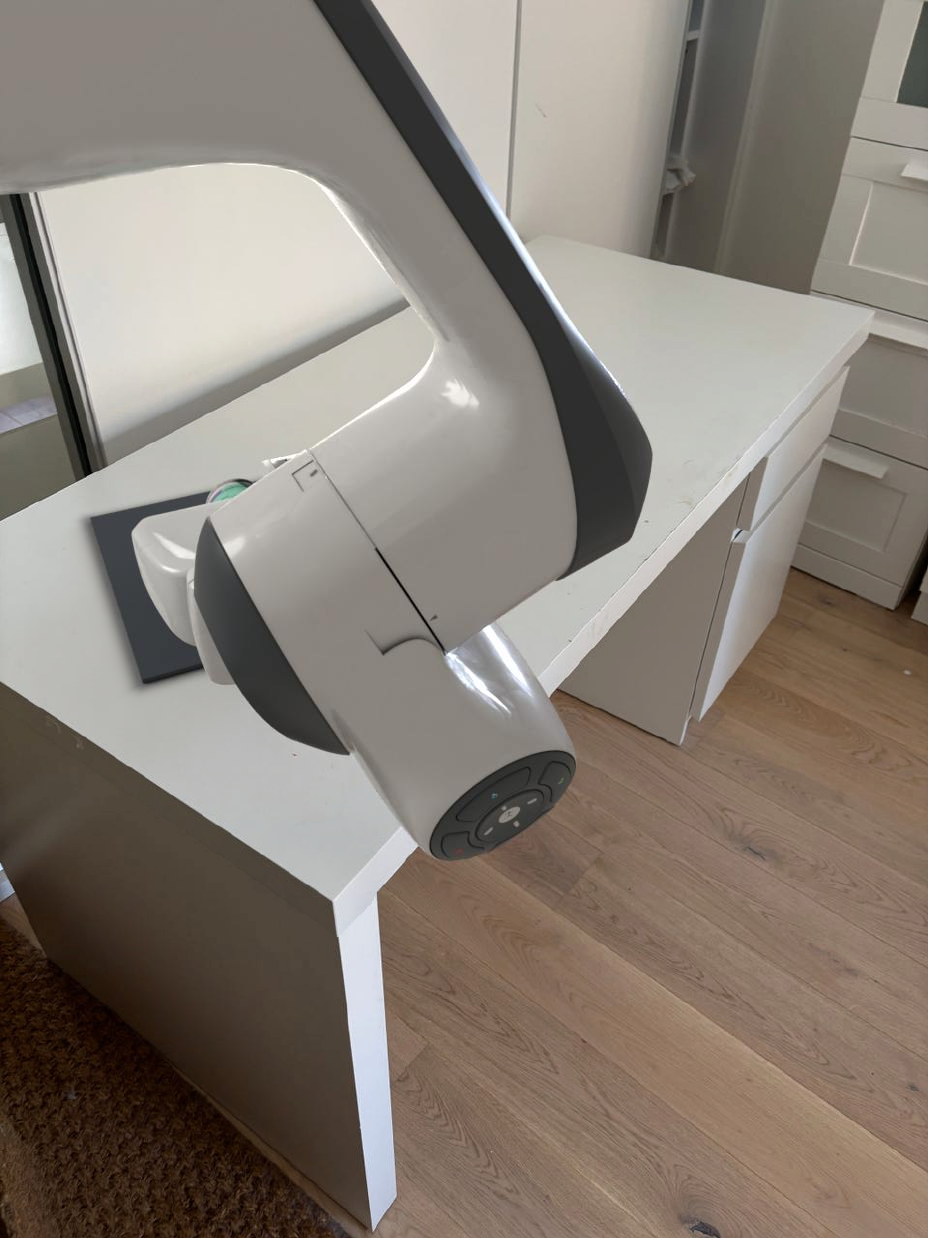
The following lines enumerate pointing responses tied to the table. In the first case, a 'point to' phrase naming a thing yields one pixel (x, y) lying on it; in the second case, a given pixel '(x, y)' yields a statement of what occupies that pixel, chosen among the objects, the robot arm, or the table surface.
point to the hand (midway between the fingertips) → (284, 466)
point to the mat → (143, 591)
